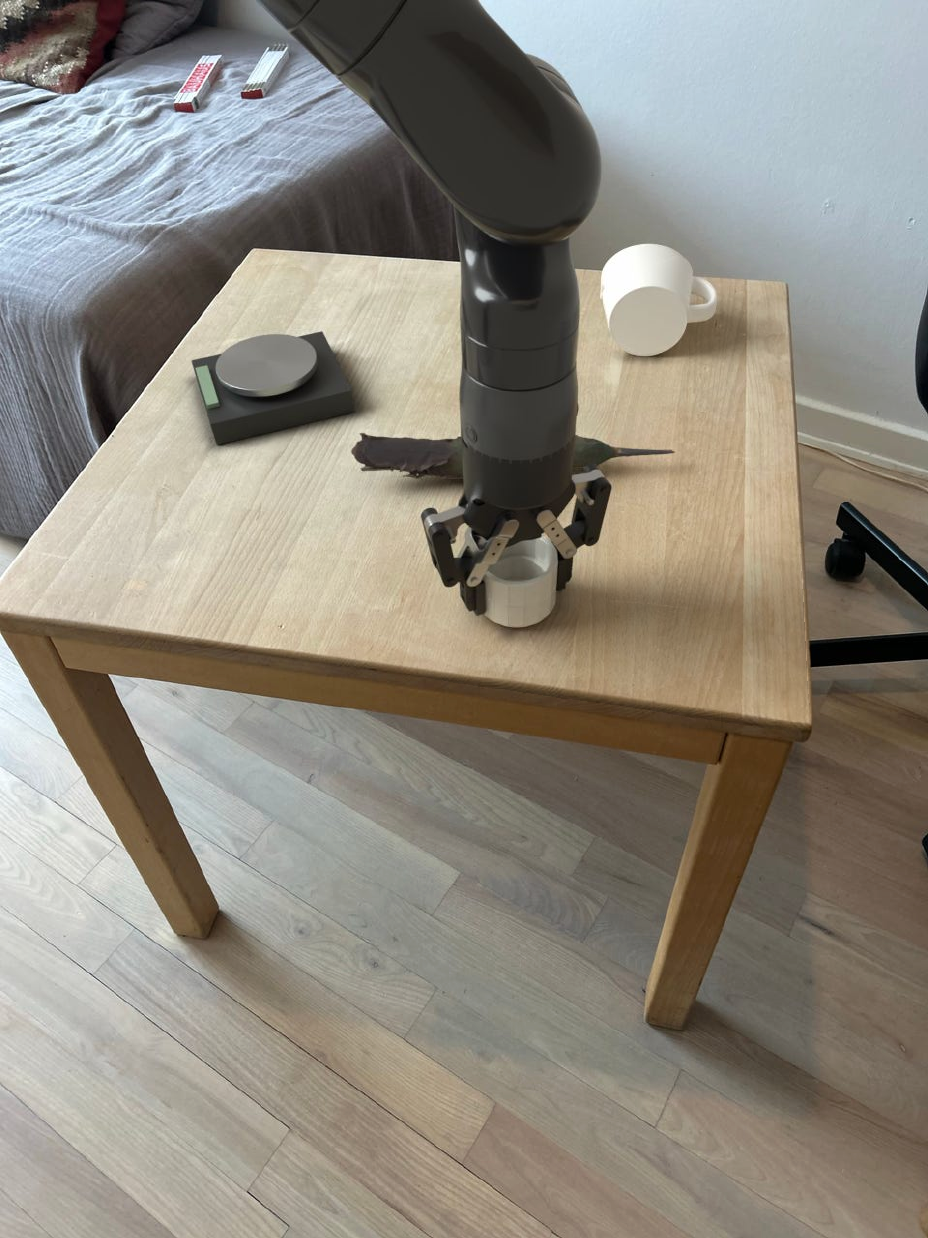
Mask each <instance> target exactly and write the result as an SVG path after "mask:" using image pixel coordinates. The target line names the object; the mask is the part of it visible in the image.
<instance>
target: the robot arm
mask: <svg viewBox="0 0 928 1238" xmlns="http://www.w3.org/2000/svg"><path fill="white" fill-rule="evenodd" d="M254 1H255V2H256V3H257V4H258V5H259V6H260V7H261V8H262V9H263V10H264V11H265V12H266V13H268V15H269V16H270V17H271V18H272V19H273V20H274V21H275V22H277V24H278V25H280V27H281V28H282V29H284V30H285V31H286V32H287V33H288V34H289V35H290V36H291V37H292V38H293V39H294V40H296V42H297V43H299V44H300V45H301V46H302V47H303V48H304V49H305V50H306V51H307V52H309V54H311V56H312V57H314V58H315V60H317V61H318V62H319V63H320V64H321V65H322V66H323V67H324V68H325V69H326V70H327V71H328V72H330V73H331V74H332V75H334V76H335V78H336V79H337V80H339V82H340V83H342V85H344V86H345V87H346V88H347V89H349V90H350V91H351V92H352V93H354V94H355V95H356V96H357V97H358V98H360V99H361V100H362V101H363V102H364V103H365V104H367V105H368V107H369V108H371V109H372V111H373V112H374V113H376V114H377V116H378V117H379V118H380V119H381V120H382V121H383V123H384V124H385V125H386V126H387V128H389V131H391V132H392V134H393V135H394V136H395V138H396V140H397V141H398V142H399V143H400V144H401V145H402V147H403V148H404V149H405V150H406V152H407V153H408V154H409V155H410V156H411V157H412V159H413V160H414V161H415V162H416V163H417V165H418V166H419V167H420V168H421V169H422V170H423V172H424V174H426V175H427V177H428V178H429V179H431V181H432V182H433V184H434V185H435V186H436V187H437V188H438V189H439V190H440V192H442V194H443V195H444V196H445V197H446V198H447V200H449V201H450V203H451V204H452V207H453V215H454V222H455V223H454V224H455V232H456V239H457V246H458V247H457V248H458V253H459V260H460V261H459V262H460V263H459V264H460V298H459V299H460V302H459V322H460V325H459V326H460V343H461V344H460V347H461V372H460V379H459V397H458V400H459V418H460V437H461V443H462V464H463V478H462V479H463V492H462V495H461V496H460V498H459V500H458V504H457V505H456V506H455V507H451V508H449V509H446V510H444V511H441V512H438V510H437V509H436V508H434V507H427V508H425V509H423V510H422V512H421V513H420V519H421V522H422V527H423V530H424V535H425V539H426V542H427V545H428V549H429V553H430V557H431V561H432V564H433V566H434V568H435V569H436V570H437V573H438V575H439V577H440V581H441V583H442V585H443V586H444V587H446V588H453V587H455V586H456V585H458V584H459V595H460V598H461V600H462V602H463V604H464V605H465V608H466V609H467V611H468V612H469V613H470V612H473V613H474V615H475V616H476V617H479V616H482V615H484V614H485V583H484V581H483V577H484V575H485V573H486V572H487V570H488V568H489V566H490V565H495V564H496V562H497V561H498V559H499V557H500V555H501V553H502V551H503V550H504V548H506V547H510V546H513V545H515V544H517V543H519V542H521V541H526V540H534V539H538V538H541V537H542V535H543V534H544V533H545V535H546V536H547V537H548V539H549V540H550V541H551V542H552V544H553V545H554V547H555V548H556V550H557V557H558V565H557V581H556V593H557V592H561V591H564V590H566V588H567V587H566V585H567V583H569V582H570V581H571V579H572V577H573V567H574V557H575V556H576V555H577V552H578V549H580V547H582V546H586V547H593V546H594V545H596V544H597V543H598V542H599V540H600V536H601V533H602V528H603V525H604V522H605V521H604V520H605V517H606V512H607V509H608V506H609V505H608V504H609V500H610V497H611V493H612V489H613V488H612V484H611V483H610V481H609V480H608V479H607V477H605V474H604V473H603V472H602V471H601V470H600V468H599V466H596V464H593V463H591V464H588V465H586V466H585V467H583V468H582V470H581V473H577V474H574V468H573V462H574V448H575V435H577V434H576V432H577V419H578V416H579V409H580V405H579V380H578V379H579V378H578V369H577V366H578V365H577V363H578V350H579V349H578V348H579V336H580V335H579V333H580V320H581V319H580V315H581V313H580V312H581V295H580V284H579V279H578V275H577V272H576V268H575V264H574V260H573V255H572V249H571V236H572V235H573V234H574V233H575V232H576V231H577V230H579V228H580V227H581V226H582V225H583V224H584V223H585V222H586V221H587V220H588V219H589V216H590V215H591V213H592V212H593V209H594V207H595V205H596V203H597V199H598V197H599V193H600V190H601V185H602V179H603V160H602V159H603V158H602V152H601V146H600V142H599V138H598V136H597V133H596V130H595V129H594V126H593V124H592V122H591V121H590V119H589V117H588V115H587V114H586V112H585V111H584V108H583V107H582V105H581V103H580V102H579V100H578V98H577V96H576V94H575V93H574V91H573V88H572V87H571V85H570V84H569V82H568V81H567V80H566V79H565V77H564V76H563V75H562V74H561V73H560V72H559V70H557V69H556V67H554V66H553V65H551V64H550V63H549V62H547V61H545V60H543V59H542V58H539V57H538V56H535V55H534V54H530V53H527V52H524V51H523V50H522V48H521V47H520V46H519V45H518V44H517V43H516V42H515V41H514V40H513V39H512V38H511V36H510V35H509V34H508V33H507V32H506V31H505V30H504V29H503V28H502V27H501V26H500V24H498V23H497V21H496V20H495V19H494V18H493V17H492V16H491V15H490V13H488V12H487V10H486V9H485V7H484V6H483V5H482V3H481V2H480V0H254ZM575 496H576V498H575V502H574V508H573V512H572V516H571V521H570V524H569V525H567V526H565V527H563V526H562V524H561V523H560V521H559V519H558V518H559V517H560V515H561V514H562V513H563V511H564V510H565V509H566V508H567V506H568V505H569V504H570V502H571V501H572V499H573V498H574V497H575ZM463 525H466V526H467V528H466V530H465V532H464V543H463V545H462V546H461V548H460V551H459V553H458V555H457V557H455V555H454V552H453V551H454V550H453V547H452V545H454V544H456V543H457V536H458V535H459V534H458V533H459V528H460V527H461V526H463ZM487 541H488V542H487Z"/></svg>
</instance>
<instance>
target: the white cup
mask: <svg viewBox="0 0 928 1238" xmlns="http://www.w3.org/2000/svg"><path fill="white" fill-rule="evenodd" d="M487 542H488V541H487ZM557 565H558V557H557V550H556V548H555V547H554V545H553V544H552V542H551V540H550V539H549V538H547V537H546V536H545V535H543V534H542V537H541V538H538V539H534V540H526V541H521V542H519V543H517V544H515V545H513V546H510V547H506V548H504V550H503V551H502V553H501V555H500V557H499V559H498V561H497V562H496V564H495V565H490V566H489V568H488V570H487V572H486V573H485V575H484V577H483V581H484V583H485V614H483V615H484V616H485V617H486V618H488V619H489V620H491V622H493V623H495V624H498V625H501V626H504V627H506V628H507V627H508V628H515V629H516V628H526V627H529V626H532V625H536V624H538V623H540V622H541V621H543V620H545V618H547V617H549V616H550V614H551V612H552V610H553V609H554V607H555V605H556V596H557V595H556V594H557V592H556V581H557Z"/></svg>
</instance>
